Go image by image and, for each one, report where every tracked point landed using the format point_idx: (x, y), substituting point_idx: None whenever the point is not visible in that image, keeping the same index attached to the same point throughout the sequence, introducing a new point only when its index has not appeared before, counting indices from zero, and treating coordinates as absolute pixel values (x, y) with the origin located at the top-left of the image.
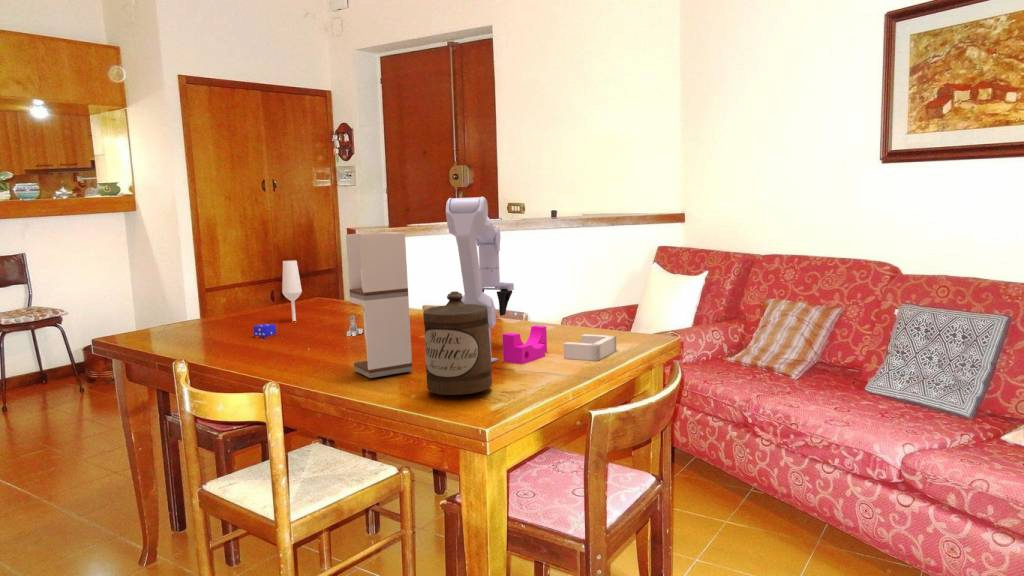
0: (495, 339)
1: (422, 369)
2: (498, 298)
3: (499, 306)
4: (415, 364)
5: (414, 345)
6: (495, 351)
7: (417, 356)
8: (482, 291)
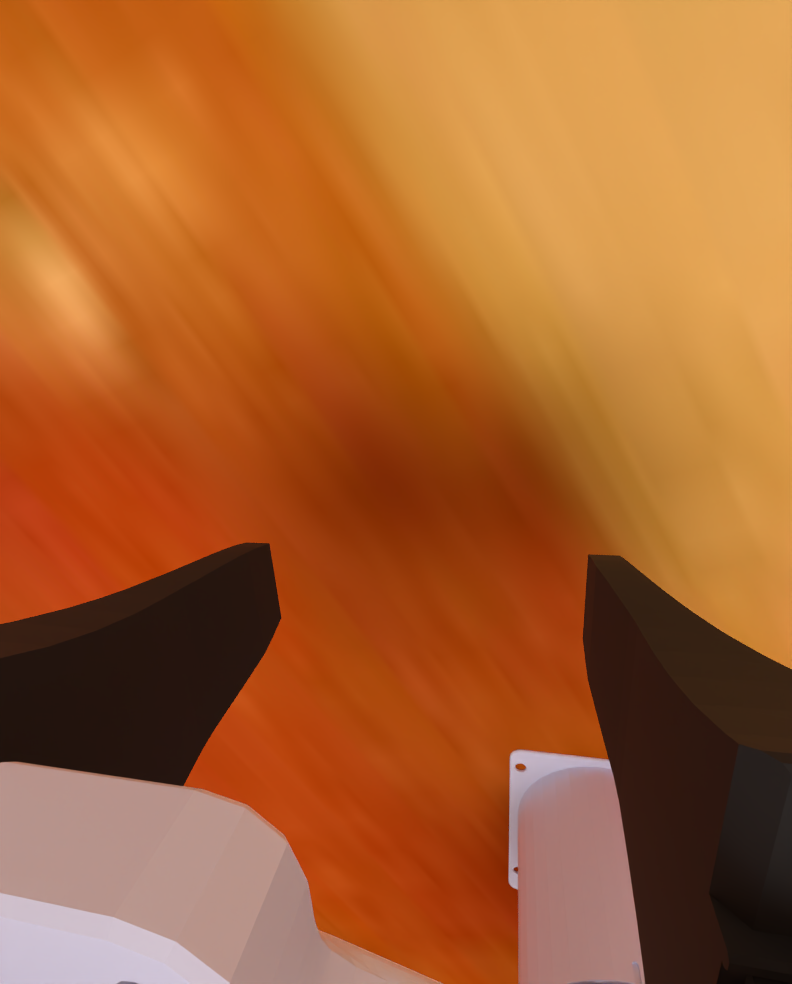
0: (322, 197)
1: (430, 963)
2: (647, 933)
3: (615, 761)
4: (341, 902)
5: (13, 578)
6: (572, 603)
7: (233, 784)
8: (9, 728)
